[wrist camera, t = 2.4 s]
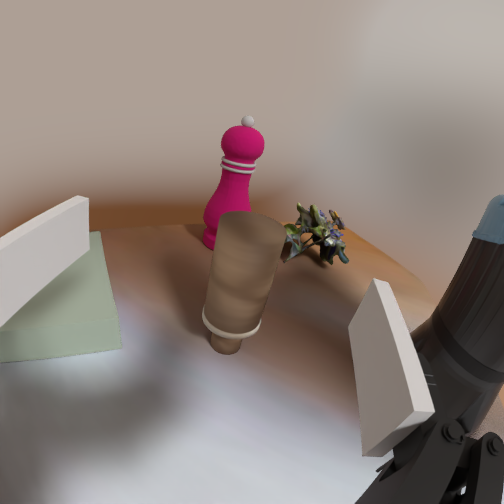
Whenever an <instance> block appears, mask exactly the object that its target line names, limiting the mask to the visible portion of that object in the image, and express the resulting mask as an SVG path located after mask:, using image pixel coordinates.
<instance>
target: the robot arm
mask: <svg viewBox="0 0 504 504" xmlns="http://www.w3.org/2000/svg"><path fill="white" fill-rule="evenodd" d="M472 236H473V238H472V241H471V243H470V245H469V247H468V249H467V251H466V254H465V256H464V258H463V260H462V262H461V264H460V266H459V268H458V270H457V272H456V274H455V275H454V277H453V279H452V281H451V283H450V285H449V287H448V288H447V290H446V292H445V294H444V295H443V297H442V299H441V300H440V302H439V304H438V306H437V307H436V309H435V310H434V312H433V314H432V315H431V317H430V318H429V319H428V320H426V321H425V322H424V323H423V324H421V325H420V326H419V327H418V328H416V329H415V330H414V331H413V332H411V333H410V334H409V331H408V329H407V326H406V324H405V321H404V319H403V316H402V314H401V311H400V309H399V306H398V304H397V302H396V299H395V297H394V294H393V292H392V290H391V288H390V285H389V283H388V282H385V281H381V280H378V279H374V278H373V280H372V282H371V284H370V286H369V288H368V290H367V292H366V294H365V296H364V298H363V300H362V301H361V303H360V305H359V307H358V309H357V311H356V313H355V315H354V317H353V318H352V320H351V322H350V324H349V326H348V331H349V337H350V343H351V350H352V357H353V364H354V372H355V380H356V388H357V397H358V407H359V417H360V429H361V442H362V456H370V457H383V456H384V455H385V454H387V453H388V452H389V451H390V450H392V449H393V453H394V457H393V458H392V459H391V460H389V461H388V462H387V463H385V464H384V465H382V466H381V467H379V468H378V469H377V470H376V472H379V471H381V470H382V469H383V470H382V471H381V472H380V474H379V475H378V476H377V478H376V479H375V480H374V481H373V483H372V484H371V485H370V486H369V487H368V489H367V490H366V491H365V492H364V493H363V495H362V496H361V497H360V498H359V499H358V500H357V502H356V503H355V504H501V501H502V493H503V483H504V444H503V441H502V439H501V438H500V437H499V436H498V435H497V434H495V433H493V432H488V433H486V434H485V435H483V436H482V437H481V438H480V439H479V440H476V439H473V438H470V437H469V436H470V435H471V434H472V433H474V432H475V431H476V429H477V428H478V427H479V426H480V424H481V423H482V421H483V420H484V418H485V416H486V415H487V413H488V411H489V410H490V408H491V406H492V404H493V403H494V401H495V399H496V397H497V395H498V393H499V391H500V389H501V388H502V386H503V384H504V195H498V196H496V197H494V198H493V199H492V200H491V201H490V203H489V204H488V206H487V209H486V211H485V213H484V215H483V217H482V219H481V221H480V223H479V225H478V227H477V229H476V230H475V231H474V232H473V234H472ZM88 250H90V246H89V198H86V197H82V196H78V195H77V196H75V197H73V198H71V199H69V200H67V201H65V202H63V203H61V204H59V205H57V206H55V207H53V208H51V209H49V210H47V211H46V212H44V213H42V214H40V215H38V216H36V217H35V218H33V219H31V220H29V221H28V222H26V223H24V224H22V225H21V226H19V227H17V228H15V229H14V230H12V231H10V232H9V233H7V234H6V235H4V236H2V237H1V238H0V327H1V326H3V325H4V324H5V323H6V322H7V321H8V320H9V319H10V318H11V317H12V316H13V315H14V314H15V313H16V312H17V311H18V310H19V309H20V308H21V307H22V306H23V305H25V304H26V303H27V302H28V301H29V300H30V299H31V298H32V297H33V296H34V295H36V294H37V293H38V292H39V291H40V290H41V289H42V288H44V287H45V286H46V285H47V284H48V283H49V282H50V281H52V280H53V279H54V278H55V277H56V276H58V275H59V274H60V273H61V272H62V271H64V270H65V269H66V268H67V267H68V266H70V265H71V264H72V263H73V262H75V261H76V260H77V259H78V258H80V257H81V256H82V255H83V254H85V253H86V252H87V251H88ZM465 486H466V490H465V493H464V494H462V495H461V489H462V488H463V487H465Z"/></svg>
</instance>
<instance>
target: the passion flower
mask: <svg viewBox="0 0 504 504" xmlns="http://www.w3.org/2000/svg"><path fill="white" fill-rule="evenodd" d="M308 209H309V210H310V211H307V210H305V209H304V208H303V207H301V205H300V204H299V203H297V210H298V211H299V212H300V217H299V218H298V220H297V222H296V223H295V225H301V227H300V228H297V227H296V226H295V225H294V224H286V225H285V226H284V227H285V229H286V231H287V236H286V239H285V242H284V243H286V242H288V241H290V242H292V248H291V250H290V255H289V257H288V258H287V259H286V260H285V261H284V263H285V262H286V261H288V260H289V259H290V258H292V257H293V256H296V255H297V254H299V253H302V252H303V251H304V249H306V248H309V247H310V246H313V245H314V244H315V245H320V258H321V259H322V261H327V262H329V264H331V265H332V264H333V257H334V256H335V255H338V256H339V258H340V260H341V261H342V262H343V263H345V264H346V263H348V262H349V259H348V258H347V257H346V255H345V254H344V250H345V246H346V245H345V243H344V242H342V241H341V240H340V236H343V234H340V233H341V232H339V231H338V229H340V230H341V229H344V230H345V228H344V226H345V225H344V223H343V221H342V219H341V218H340V217H338V215H337V213H336V212H335V211H334V212H333V211H332V210H329V213H330V215H331V217H332V219H333V221H334V222H333V223H332V224H331V223H330V221H329V222H327V218H326V217H325V215H324V214H323V213H322V212H321V210H320V213H319V210H318V208H317V207H316V206H315V205H311V206H310V208H308ZM334 225H338V229H333V226H334ZM303 233H313V235H312V236H311V238H310V239H312V240H313V242H314V243H312V244H310V245H308V246H305V247H303V246H304V245H305V244H306V243H307V242H308V241H309V240H310V239H308V240H307V241H306V242H304V243H302V242H301V241H300V237H301V235H302V234H303ZM293 238H294V239H296V240H297V241H298V243H299V246H298V245H297V244H296V243H295V242H294V241H293V240H292V239H293Z"/></svg>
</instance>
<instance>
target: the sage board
mask: <svg viewBox="0 0 504 504" xmlns="http://www.w3.org/2000/svg"><path fill="white" fill-rule="evenodd" d="M89 246H90V250H88V251H87V252H86V253H85V254H83V255H82V256H81V257H80V258H78V259H77V260H76V261H75V262H73V263H72V264H71V265H70V266H68V267H67V268H66V269H65V270H64V271H62V272H61V273H60V274H59V275H58V276H56V277H55V278H54V279H53V280H52V281H50V282H49V283H48V284H47V285H46V286H45V287H44V288H42V289H41V290H40V291H39V292H38V293H37V294H36V295H34V296H33V297H32V298H31V299H30V300H29V301H28V302H27V303H26V304H25V305H23V306H22V307H21V308H20V309H19V310H18V311H17V312H16V313H15V314H14V315H13V316H12V317H11V318H10V319H9V320H8V321H7V322H6V323H5V324H4V325H3V326H1V327H0V363H3V362H16V361H28V360H38V359H48V358H57V357H65V356H73V355H81V354H88V353H95V352H102V351H108V350H115V349H121V348H122V342H121V334H120V325H119V317H118V313H117V309H116V306H115V302H114V298H113V293H112V289H111V285H110V281H109V276H108V271H107V267H106V262H105V257H104V251H103V246H102V240H101V234H100V231H95V232H89Z"/></svg>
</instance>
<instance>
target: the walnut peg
mask: <svg viewBox="0 0 504 504" xmlns="http://www.w3.org/2000/svg"><path fill="white" fill-rule="evenodd" d="M286 236H287V231H286V229H285V227H284V226H283V225H282V224H280V223H279V222H277V221H276V220H274V219H272V218H270V217H267V216H265V215H262V214H258V213H254V212H248V211H230V212H226V213H224V214H222V215H221V216H220V219H219V224H218V230H217V235H216V241H215V246H214V252H213V258H212V264H211V269H210V275H209V281H208V288H207V294H206V300H205V305H204V307H203V312H202V319H203V322H204V324H205V325H206V327H207V328H208V329H209V330H210V331H212V335H211V341H210V343H211V346H212V348H213V349H214V350H215V351H217V352H218V353H221V354H225V355H230V354H234V353H236V352H237V351H238V350H239V348H240V345H241V342H242V339H245V338H248V337H250V336H252V335H254V334H255V333H256V332H257V331H258V329H259V327H260V323H261V317H262V314H263V310H264V307H265V304H266V301H267V298H268V295H269V291H270V288H271V285H272V282H273V279H274V275H275V272H276V269H277V266H278V262H279V259H280V256H281V252H282V249H283V246H284V242H285V239H286Z"/></svg>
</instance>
